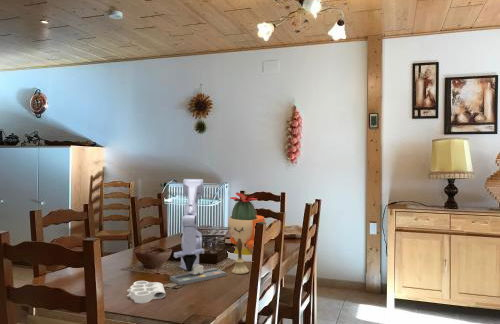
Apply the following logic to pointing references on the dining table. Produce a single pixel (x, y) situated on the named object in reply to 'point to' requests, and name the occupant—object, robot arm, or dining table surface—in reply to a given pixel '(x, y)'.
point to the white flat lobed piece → (146, 291)
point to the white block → (197, 269)
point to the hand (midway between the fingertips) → (189, 271)
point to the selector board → (197, 276)
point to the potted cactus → (243, 226)
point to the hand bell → (240, 261)
